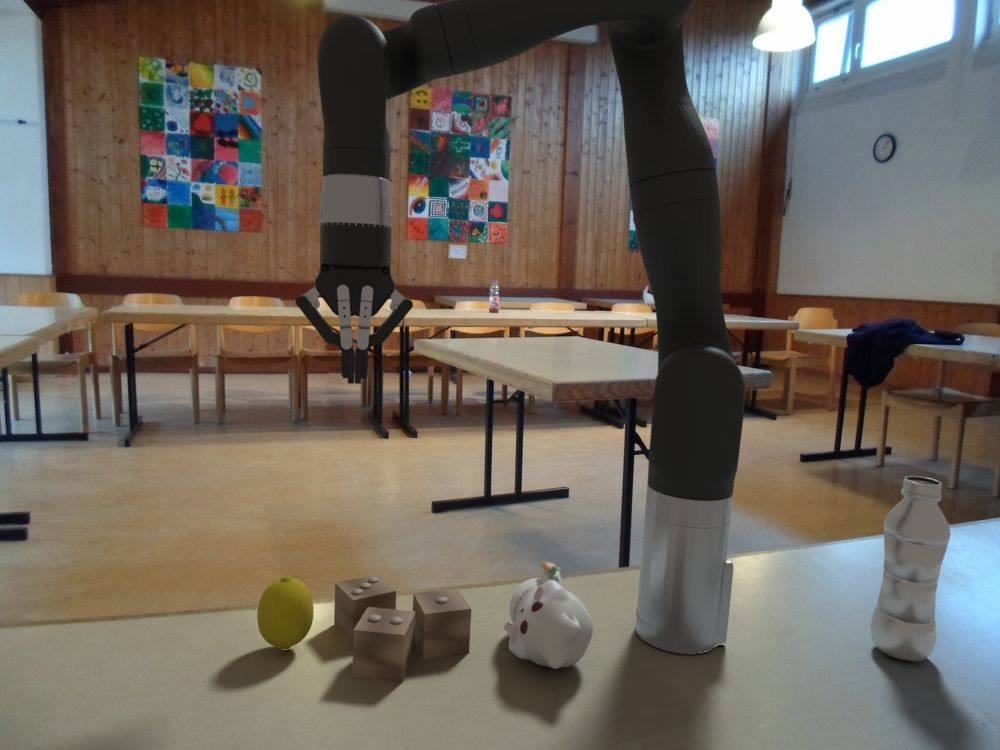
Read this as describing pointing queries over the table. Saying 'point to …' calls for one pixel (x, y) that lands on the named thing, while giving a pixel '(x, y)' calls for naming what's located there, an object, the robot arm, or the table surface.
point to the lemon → (285, 612)
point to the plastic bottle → (911, 572)
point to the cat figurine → (548, 621)
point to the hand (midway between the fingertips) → (354, 382)
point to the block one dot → (441, 623)
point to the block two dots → (383, 644)
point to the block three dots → (360, 601)
